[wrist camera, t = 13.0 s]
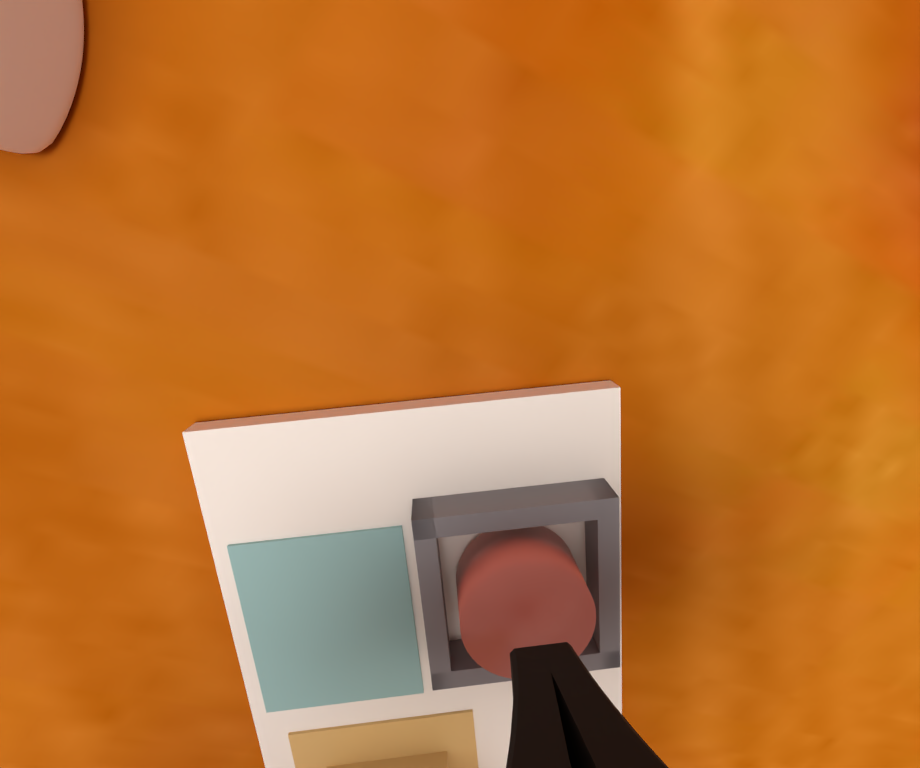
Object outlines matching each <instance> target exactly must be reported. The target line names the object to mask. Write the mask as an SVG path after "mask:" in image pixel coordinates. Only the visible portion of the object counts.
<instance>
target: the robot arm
mask: <svg viewBox="0 0 920 768" xmlns="http://www.w3.org/2000/svg"><path fill="white" fill-rule="evenodd" d="M510 665H511V678H512V691H513V709H512V722H511V734H510V743H509V750H508V757H507V764H506V768H668V767H667V766H666V765H665V763H664V762H663V761H662V760H661V759H660V758H659V757H658V756H657V755H656V754H655V753H654V751H653V750H652V749H651V748H650V747H649V746H648V745H647V744H646V743H645V741H644V740H643V739H642V738H641V737H640V736H639V734H638V733H637V732H636V731H635V730H634V729H633V728H632V726H631V725H630V724H629V723H628V721H627V720H626V719H625V718H624V717H623V715H622V714H621V713H620V712H619V710H618V709H617V708H616V707H615V706H614V704H613V703H612V702H611V701H610V699H609V698H608V697H607V695H606V694H605V693H604V692H603V690H602V689H601V688H600V686H599V685H598V683H597V682H596V681H595V679H594V678H593V677H592V675H591V674H590V673H589V671H588V670H587V668H586V667H585V665H584V664H583V663H582V661H581V660H580V658H579V657H578V655H577V654H576V652H575V650H574V649H573V647H572V646H571V645H570V644H569V643H567V642H562V643H554V644H546V645H538V646H530V647H522V648H514V649H513V650H512V651H511V652H510Z"/></svg>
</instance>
